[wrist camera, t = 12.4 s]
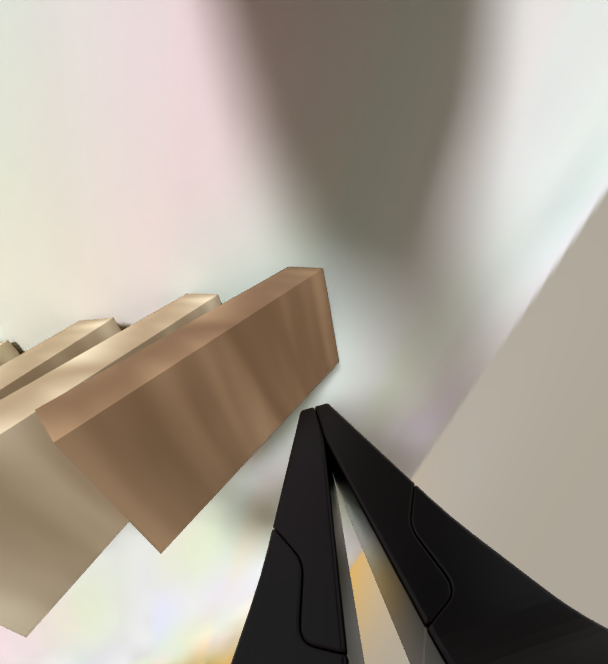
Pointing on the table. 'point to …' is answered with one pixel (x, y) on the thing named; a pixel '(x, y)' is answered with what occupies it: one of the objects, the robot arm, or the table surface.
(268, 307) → the tile
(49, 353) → the tile
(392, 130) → the table surface
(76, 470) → the light brown wooden block
